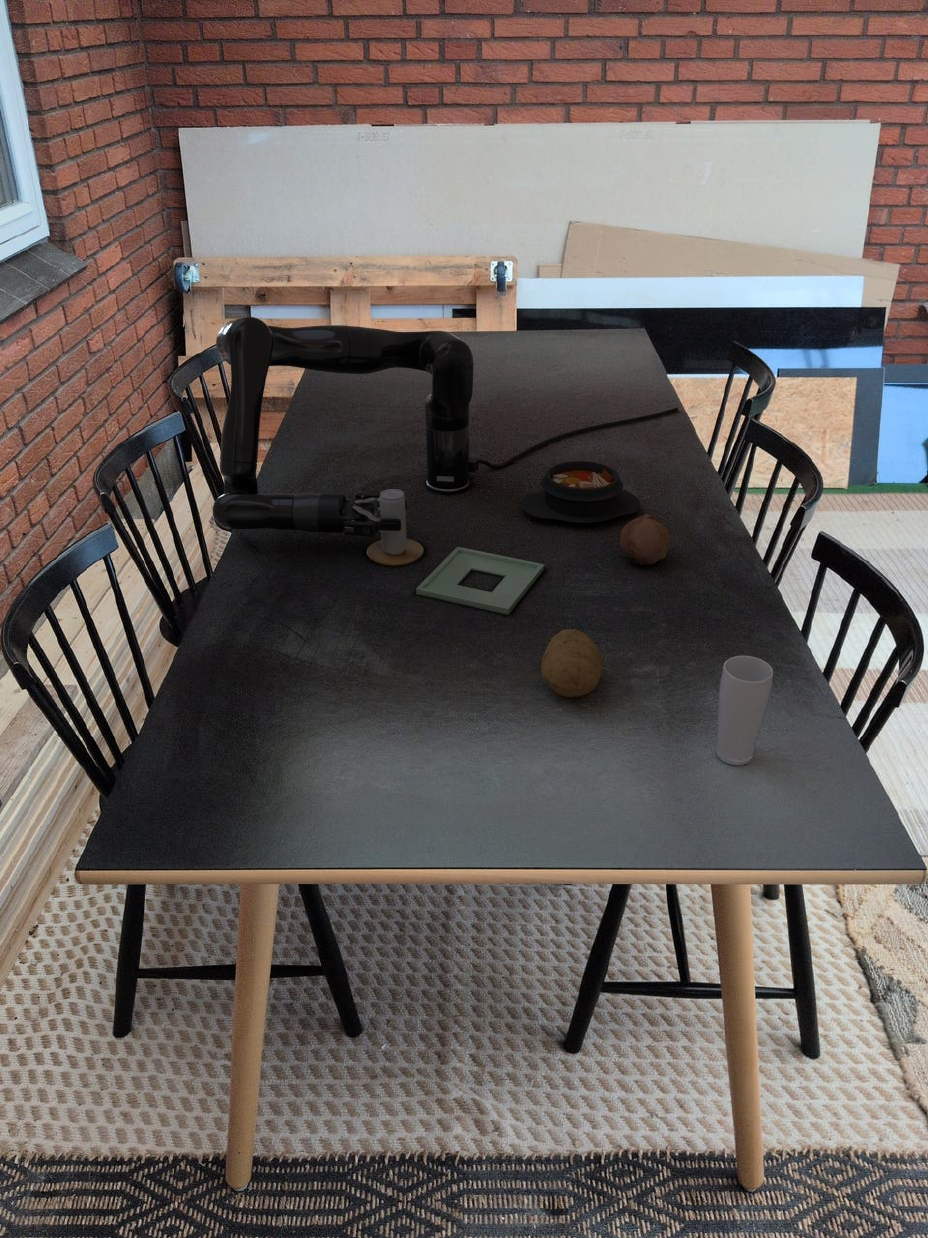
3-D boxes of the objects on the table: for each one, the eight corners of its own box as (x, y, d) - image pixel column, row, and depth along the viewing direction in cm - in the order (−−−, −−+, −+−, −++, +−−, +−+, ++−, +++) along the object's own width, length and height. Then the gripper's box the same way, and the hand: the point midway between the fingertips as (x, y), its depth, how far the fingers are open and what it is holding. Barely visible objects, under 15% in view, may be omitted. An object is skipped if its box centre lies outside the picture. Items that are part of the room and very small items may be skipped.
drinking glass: (703, 742, 150) (716, 655, 142) (749, 739, 151) (764, 653, 143) (717, 772, 145) (731, 684, 137) (764, 769, 145) (781, 681, 137)
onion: (637, 565, 203) (643, 514, 202) (677, 569, 196) (682, 516, 195) (606, 563, 196) (612, 510, 195) (646, 567, 189) (652, 512, 189)
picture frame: (457, 551, 201) (457, 546, 201) (544, 569, 195) (544, 564, 194) (416, 594, 187) (416, 588, 187) (508, 614, 181) (508, 609, 180)
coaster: (383, 535, 207) (383, 533, 207) (433, 545, 204) (433, 543, 203) (356, 558, 199) (356, 557, 199) (407, 570, 195) (407, 568, 195)
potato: (597, 661, 168) (601, 619, 164) (605, 712, 156) (609, 669, 152) (537, 660, 169) (539, 618, 165) (540, 711, 157) (542, 668, 153)
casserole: (627, 490, 226) (631, 454, 221) (649, 528, 210) (653, 490, 206) (514, 495, 224) (515, 459, 219) (528, 534, 208) (529, 495, 203)
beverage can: (403, 557, 199) (401, 500, 192) (379, 554, 199) (376, 497, 193) (409, 545, 203) (407, 489, 196) (385, 543, 203) (383, 487, 197)
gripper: (310, 510, 190) (398, 513, 189) (325, 479, 202) (407, 481, 201) (314, 547, 194) (400, 549, 193) (328, 514, 206) (408, 516, 205)
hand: (403, 514), depth 197 cm, fingers open, 8 cm apart
